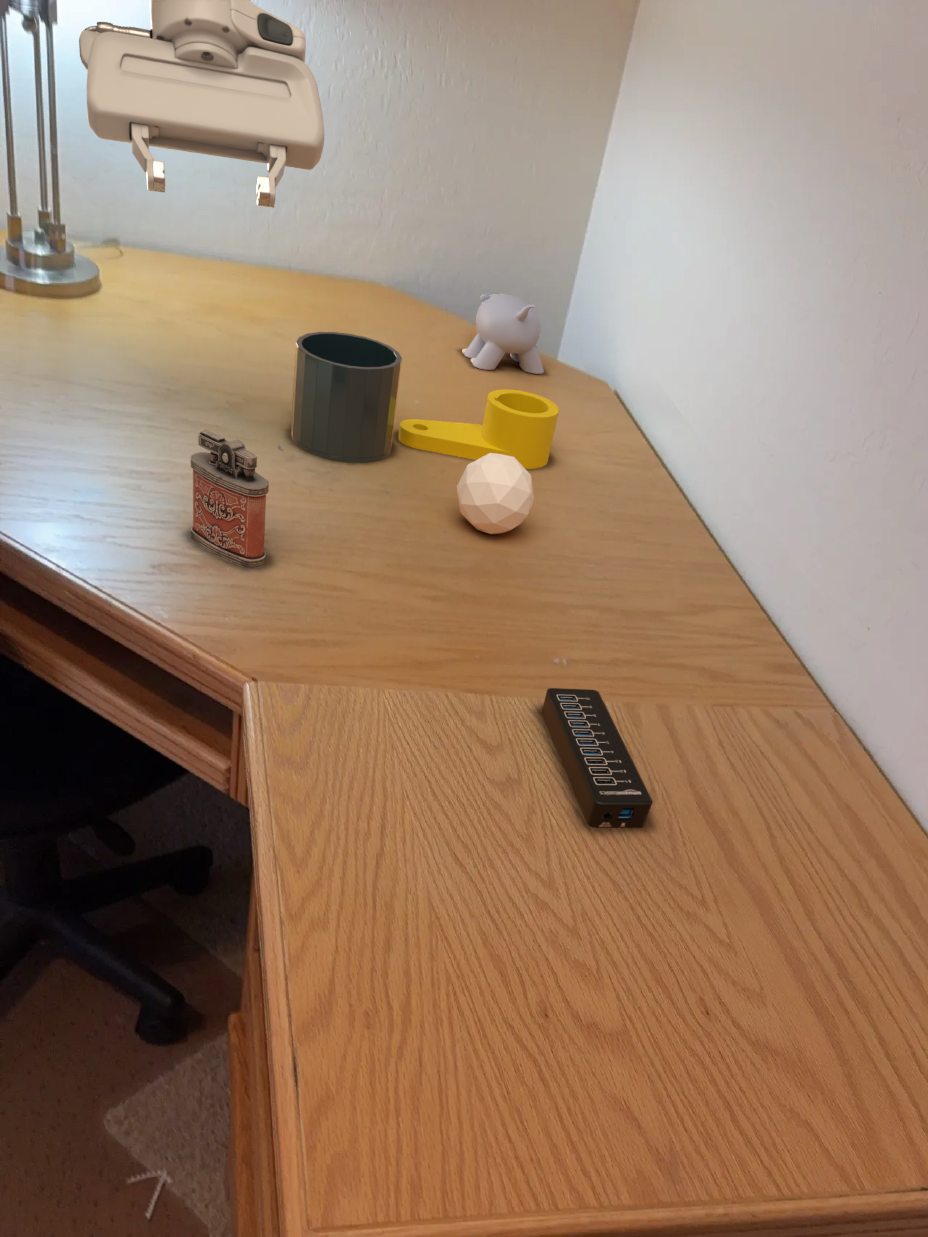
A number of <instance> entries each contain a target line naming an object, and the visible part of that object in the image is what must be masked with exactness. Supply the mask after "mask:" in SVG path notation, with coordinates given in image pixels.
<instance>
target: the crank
mask: <svg viewBox="0 0 928 1237" xmlns="http://www.w3.org/2000/svg"><path fill="white" fill-rule="evenodd" d="M559 412H560V409H559V406H557V404H556V403H554V401H551V400H550V399H548V398H546V397H544V396H542V395H538V394H536V393H532V392H529V391H524V390H519V389H518V390H517V389H507V388H506V389H503V388H502V389H496V390H495V389H494V390H493V391H490V392H489V393H488V394H487V398H486V403H485V409H484V415H483V421H482V424H480V423H466V422H456V421H444V420H429V419H418V418H417V419H416V418H408V419H407V418H406V419H403V420H401V421H400V423H399V430H398V437H397V438H398V441H399V442H400V443H401V444H403V445H404V446H406V447H410V448H413V449H416V450H422V451H427V452H434V453H437V454H443V455H447V456H453V457H459V458H462V459H463V458H464V459H468V460H473V461H476V460H477V459H479V458H481V457H483V456H485V455H487V454H489V453H496V454H503V455H507V456H512V457H515V458H516V460H517V461H518V462H519V463H520V464H521V465H522V466H523V467H524V468H525V469H526V470H531V469H532V470H534V469H540V468H542V467H544V466H546V465H547V464H548V462H549V458H550V453H551V449H552V444H553V440H554V439H553V438H554V435H555V430H556V425H557V421H558V416H559Z"/></svg>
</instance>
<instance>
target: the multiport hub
mask: <svg viewBox="0 0 928 1237" xmlns="http://www.w3.org/2000/svg"><path fill="white" fill-rule="evenodd" d="M540 713H541V716H542V719H543V722H544V723H545V726H546V729H547V730H548V733H549V735H550V738H551V741H552V743H553V745H554V747H555V750H556V752H557V755H558V758H559V760H560V762H561V764H562V766H563V770H564V772H565V774H566V776H567V779H568V781H569V783H570V787H571V788H572V791H573V793H574V796H575V798H576V800H577V803H578V806H579V809H580V810H581V813H582V815H583V818H584V820H585V822H586V825H588V826H589V827H590V828H594V829H618V828H619V829H641V828H644V827H645V825H646V822H647V819H648V817H649V813H650V812H651V808H652V805H653V799H652V797H651V795H650V793H649V791H648V788H647V787H646V785H645V783H644V781H643V778H642V777H641V775H640V773H639V771H638V768H637V767H636V764H635V763H634V760H633V758H632V756H631V755H630V752H629V750H628V748H627V746H626V745H625V744H626V743H625V742H624V740H623V738H622V736H621V734H620V732H619V730H618V728H617V726H616V724H615V722H614V720H613V718H612V716H611V714H610V712H609V709H608V708H607V706H606V703H605V702H604V700H603V697H602V695H601V693H600V692H599V691H598V690H596V689H590V688H589V689H586V688H561V687H560V688H557V687H549V688H547V690H546V693H545V697H544V700H543V705H542V709H541V712H540Z"/></svg>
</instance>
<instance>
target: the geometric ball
mask: <svg viewBox="0 0 928 1237" xmlns="http://www.w3.org/2000/svg"><path fill="white" fill-rule="evenodd" d="M455 489H456V494H457V499H458V500H457V501H458V508H459V514H461V515H462V517H464V518H465V519H466V520H467V521H468V522H469V524H471V526H473V527H474V529H476V530H477V531H479V532H482V533H485V534H489V535H500V534H504V533H507V532H509V531H512V530H514V529H515V528H516V527H518V526H519V525H521V524H522V523H523V522H524V521H525V520H526V518H527V517H528V516H529V513H530V512H531V508H532V506H533V504H534V502H535V495H534V489H533V481H532V474H530V472H529V471H528V469H525V468H524V467H523V466H522V465H521V464H520V463H519V462H518V461H517V460H516V458H515V457H512V456H507V455H503V454H496V453H489V454H487V455H485V456H483V457H481V458H479V459H477V460H473V461H472V462H470V463H468V464H467V465H466V467H465V469H464V471H463V473H462V475H461V477H460V479H459V481H458V483H457V485H456V488H455Z"/></svg>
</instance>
